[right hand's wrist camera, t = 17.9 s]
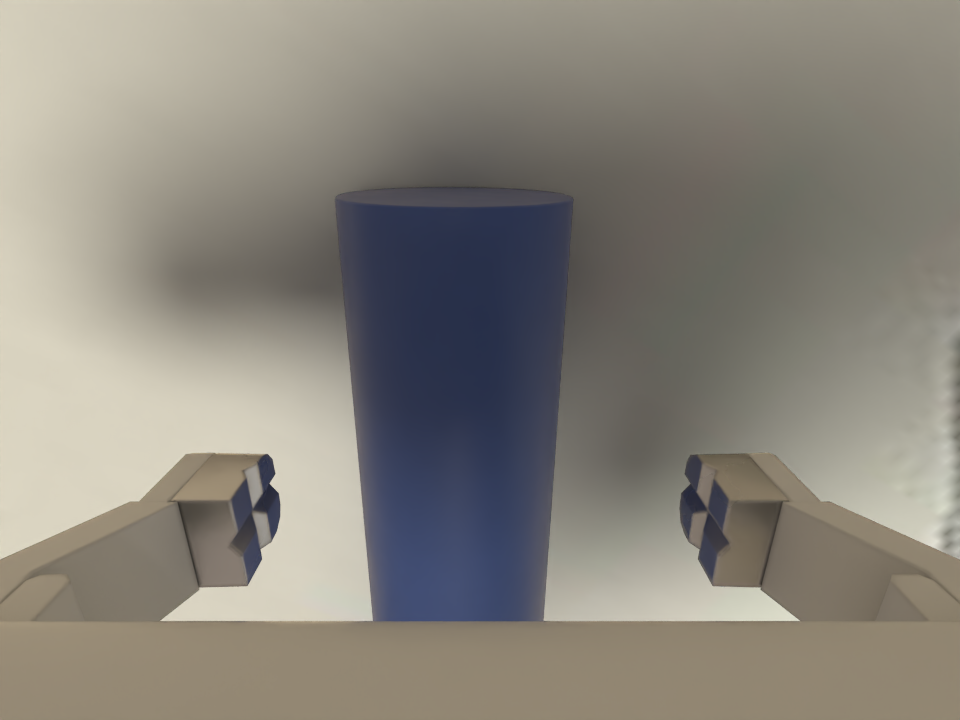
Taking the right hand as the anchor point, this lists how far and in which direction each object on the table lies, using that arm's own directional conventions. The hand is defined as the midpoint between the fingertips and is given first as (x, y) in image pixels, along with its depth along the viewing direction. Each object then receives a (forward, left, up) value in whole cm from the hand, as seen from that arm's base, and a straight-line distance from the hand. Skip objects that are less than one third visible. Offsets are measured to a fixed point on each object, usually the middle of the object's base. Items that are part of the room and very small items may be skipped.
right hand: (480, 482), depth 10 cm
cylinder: (+7, +4, -9) cm, 12 cm away
